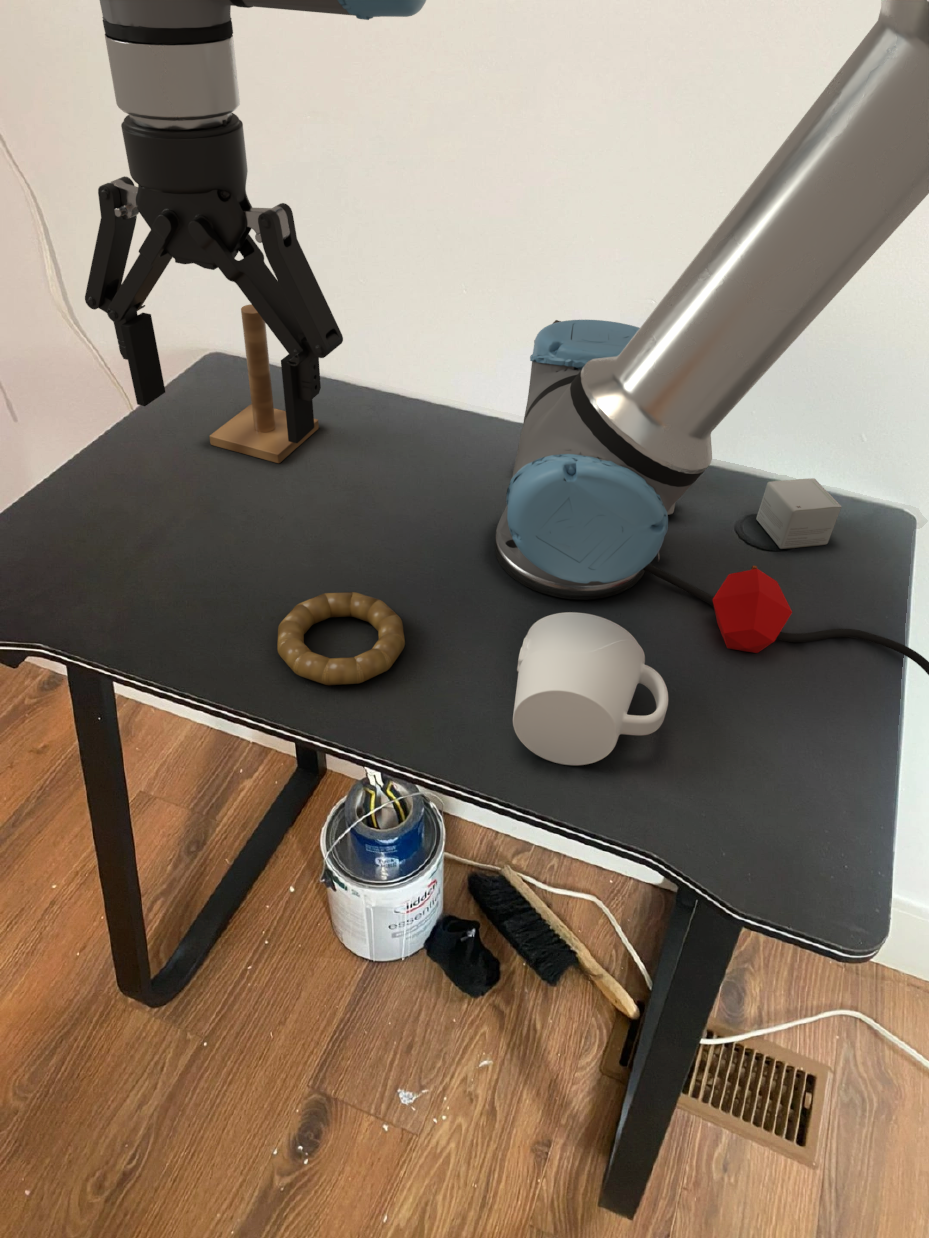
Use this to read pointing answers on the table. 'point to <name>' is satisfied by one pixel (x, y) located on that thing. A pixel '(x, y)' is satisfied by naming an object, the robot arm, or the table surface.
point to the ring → (340, 668)
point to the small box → (798, 513)
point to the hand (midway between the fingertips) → (224, 416)
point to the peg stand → (258, 403)
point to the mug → (581, 688)
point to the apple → (750, 610)
